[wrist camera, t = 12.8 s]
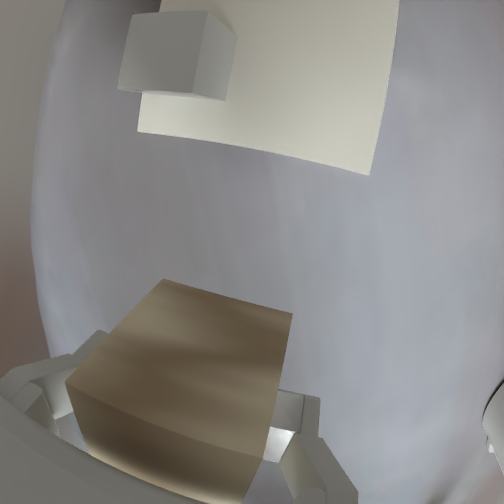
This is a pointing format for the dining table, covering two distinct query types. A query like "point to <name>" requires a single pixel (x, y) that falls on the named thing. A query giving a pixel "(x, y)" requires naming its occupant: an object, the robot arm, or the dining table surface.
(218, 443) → the birch block
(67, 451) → the robot arm
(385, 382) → the dining table surface
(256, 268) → the dining table surface
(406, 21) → the dining table surface
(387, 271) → the dining table surface
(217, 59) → the grey block
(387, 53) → the cream flat sheet
